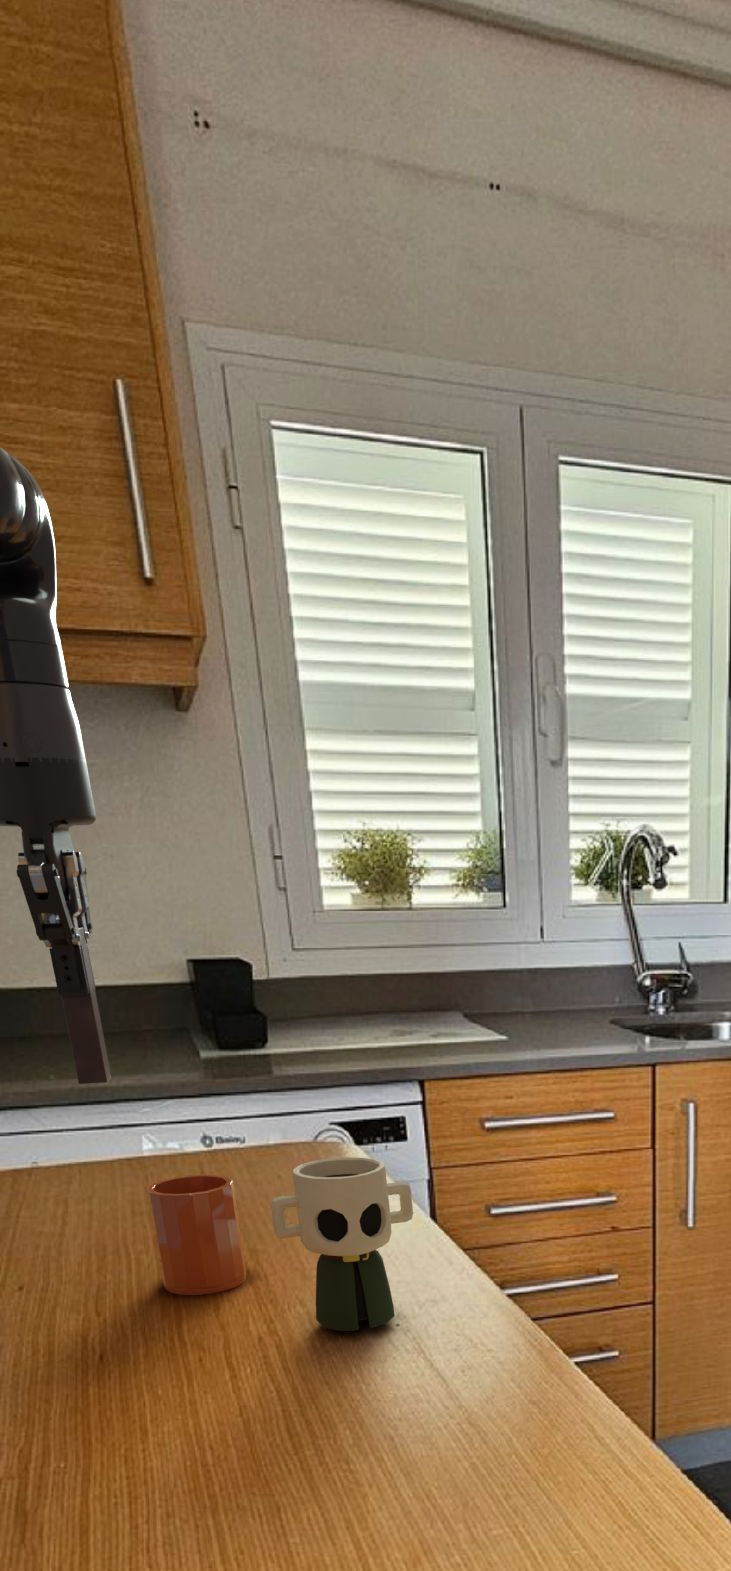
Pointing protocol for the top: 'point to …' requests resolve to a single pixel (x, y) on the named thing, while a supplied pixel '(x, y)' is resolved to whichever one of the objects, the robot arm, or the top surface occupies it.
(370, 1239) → the character mug
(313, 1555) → the top surface
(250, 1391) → the top surface
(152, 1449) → the top surface
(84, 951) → the stick
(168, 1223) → the tumbler
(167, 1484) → the top surface
